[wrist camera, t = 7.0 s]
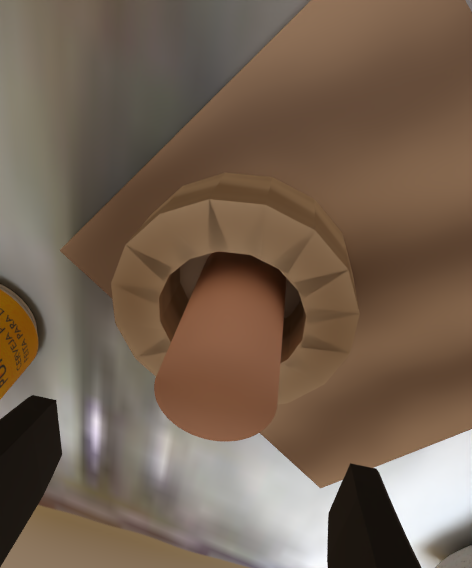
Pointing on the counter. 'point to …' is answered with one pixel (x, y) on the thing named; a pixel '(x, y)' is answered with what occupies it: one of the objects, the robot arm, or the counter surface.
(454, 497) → the counter surface
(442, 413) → the board
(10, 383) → the yellow labeled bottle
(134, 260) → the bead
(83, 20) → the counter surface
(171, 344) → the peg
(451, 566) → the ceramic mug
